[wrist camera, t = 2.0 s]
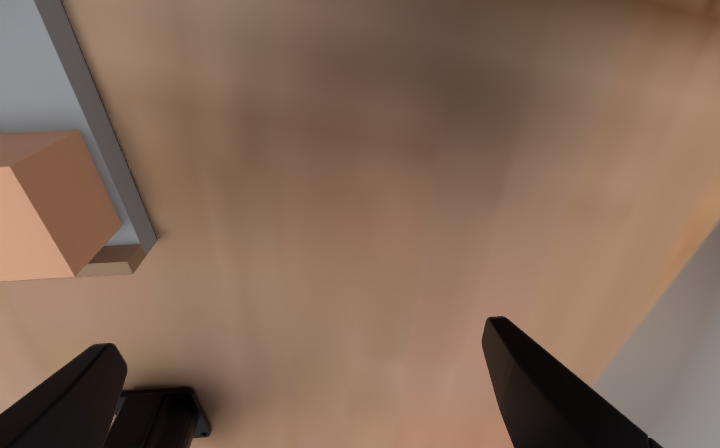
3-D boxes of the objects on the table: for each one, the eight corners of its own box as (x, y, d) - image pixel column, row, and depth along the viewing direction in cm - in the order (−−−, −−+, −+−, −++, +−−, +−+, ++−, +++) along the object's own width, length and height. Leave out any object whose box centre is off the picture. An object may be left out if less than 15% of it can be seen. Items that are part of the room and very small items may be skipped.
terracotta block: (122, 225, 19) (75, 276, 15) (2, 232, 18) (-73, 285, 15) (79, 130, 16) (9, 166, 12) (-63, 136, 16) (-173, 175, 12)
